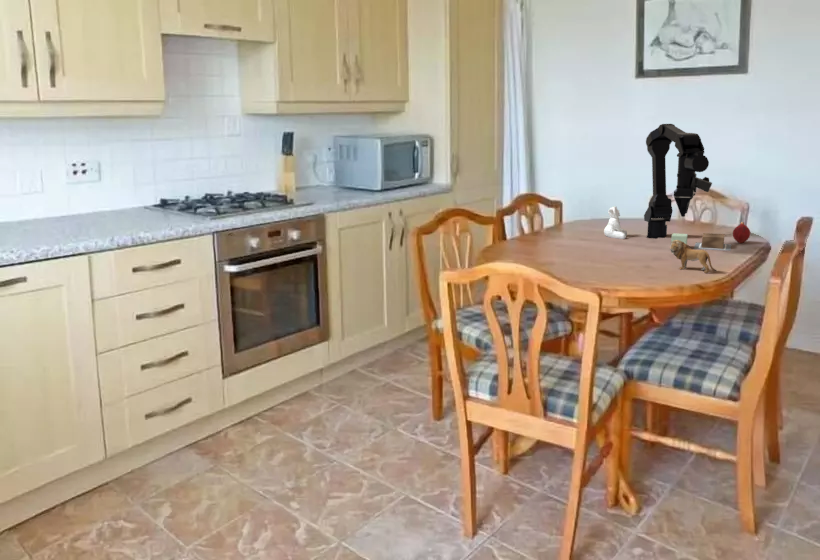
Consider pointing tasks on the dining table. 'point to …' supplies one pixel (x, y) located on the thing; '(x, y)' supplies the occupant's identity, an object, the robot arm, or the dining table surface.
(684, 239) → the sage block
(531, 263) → the dining table surface
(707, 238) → the walnut base
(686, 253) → the lion figurine
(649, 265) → the dining table surface
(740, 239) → the onion
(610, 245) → the dining table surface
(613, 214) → the white creature statuette
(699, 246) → the blueprint mat
